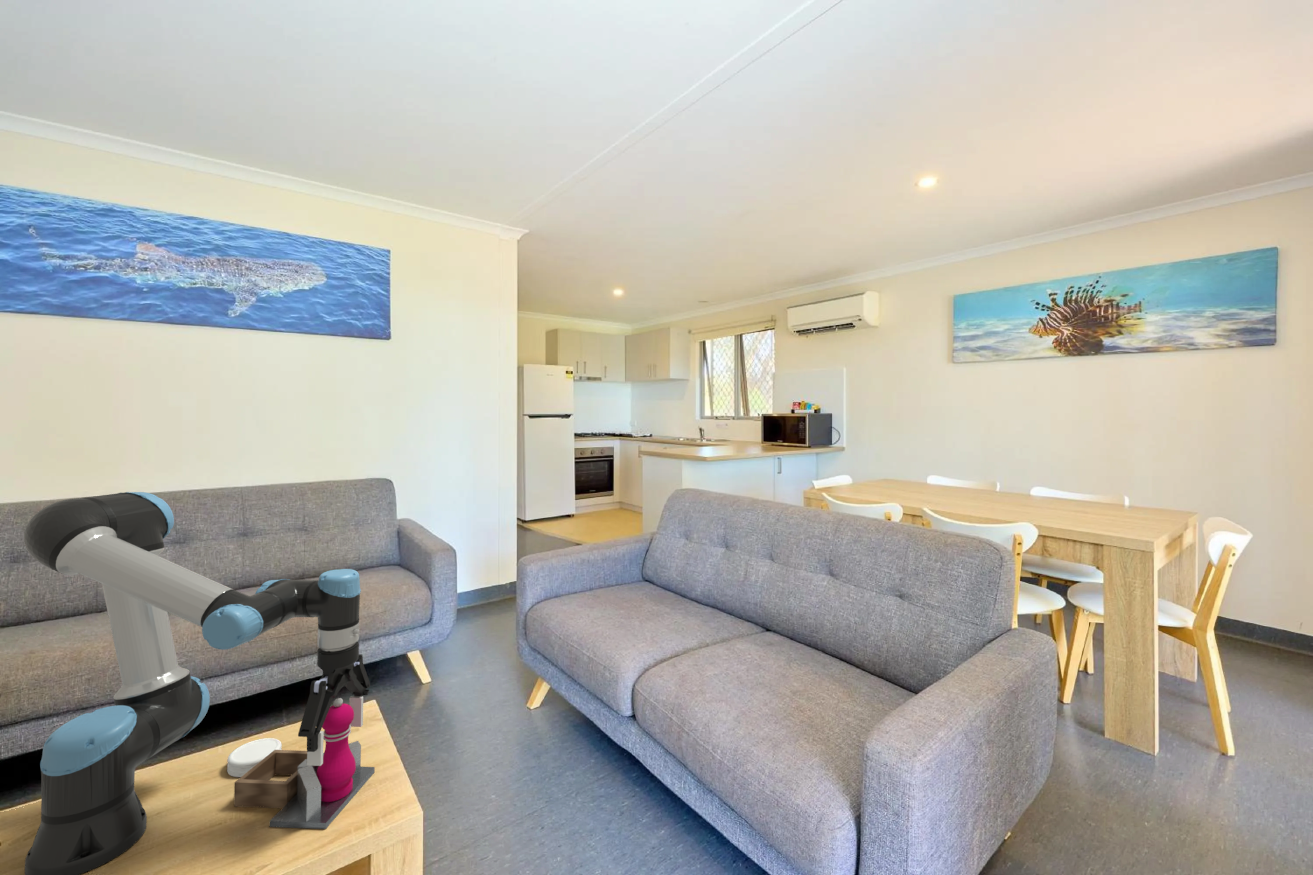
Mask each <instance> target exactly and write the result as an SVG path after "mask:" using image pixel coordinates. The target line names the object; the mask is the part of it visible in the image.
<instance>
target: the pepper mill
mask: <svg viewBox="0 0 1313 875" xmlns="http://www.w3.org/2000/svg"><path fill="white" fill-rule="evenodd" d="M332 703H333V704H332V705H331V706H330V708H329V711H328V713H327V716H326V718H325V721H324V723H323V726H322V730H323V731H324V736H323V741H325V748H324V751H323V753H324V755H323V764H322V765H321V766H318V769H317V773H316V776H317V778H318V780H319V782H320V785H321V801H323V802H333V801H337V800H339V799H342V798H343V797H345V796H346V795H348V794H349V793H350V792H351V790H352V788H353V778H352V776H353V775H354V773H355V770H356V763H355V759H354V756H353V754H352V752H351V750H350V748H349V744H350V743H349V736H350V735H351V733H352V729H351V728H352V727H351V725H350V724H351V722H352V721H353V719H354V711H353V708H352V707H351V706H350V705H349V704H348V703H345V702H344V700H343V698H342V697H338V698H336V699H335V698H334V699H333V701H332Z"/></svg>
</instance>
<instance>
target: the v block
mask: <svg viewBox="0 0 1313 875" xmlns="http://www.w3.org/2000/svg"><path fill="white" fill-rule="evenodd" d="M348 744H349V748H350V750H351V752H352V754H353V756H354V759H355V763H356V770H355V773H354V775H353V776H352V778H353V788H352V790H351V792H350V793H349V794H348V795H346V796H345V797H343V798H342V799H339V800H337V801H333V802H323V801H321V785H320V782H319V780H318V778H317V776H316V773H317V769H318V766H310V765H307V759H305V760H304V761H303V762H302V763H301V764H300V765H299V766H298V771H297V795H295V796H294V797H293V798H292V799H291V800H290V801H289V802H288V803H287V804H286V805H285V806H284V807H283V808H280V810H279V811H278V812H277V813H276V814H274V815H273V817H272V818H271V819H270V820H269V828H286V829H287V828H288V829H290V828H291V829H311V830H312V829H315V830H316V829H317V830H318V829H319V830H326V829H327V828H328V827H329V826H330V825H331V824H332V823H333V821H334V820H335V819H336V818H337V817H338V815H339V814H340V813H341V812H342V811H343V810H344V809H345V807H346V806H348V804H349V802H350V801H351V800H352V799H353V798H354V797H355V796H356V795H357V793H358V792H359V791H360V790H361V789H362V788H363V787H364V785H366V783H367V782H368V781H369V779H370V778H371V777H372V776H373V775H374V774H375V770H376V769H375V768H376V767H375V766H362V764H361V760H362V758H361V757H362V753H361V752H362V745H361V743H360V742H359V740H356V741H353V742H351V743H348ZM323 755H324V752H323Z"/></svg>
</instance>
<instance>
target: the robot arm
mask: <svg viewBox="0 0 1313 875" xmlns="http://www.w3.org/2000/svg"><path fill="white" fill-rule="evenodd" d="M174 518H175V517H174V513H173V511H172V508H171V507H170V505H169V504H168V503H167V502H166V501H165V500H164V499H163V498H161V497H159V496H157V495H156V494H153V493H149V492H144V491H131V492H130V491H126V492H117V493H111V494H110V493H109V494H103V495H97V496H96V495H95V496H88V497H87V496H86V497H81V498H80V497H77V498H75V497H74V498H67V499H64V500H59V501H56V502H53V503H51V504H49V505H47V506H46V507H44V508H42V509H40V510H38V512H37V513H36V514H34V515H33V516H32V517H31V518H30V520H29V521H28V522H27V524H26V527H25V529H24V532H23V533H24V534H23V542H24V544H25V549H26V551H27V552H28V553H29V555H30V556H31V557H32V558H33V559H34V560H36V561H37V562H38V563H39V564H41V565H42V566H44V567H46V568H49V569H50V570H53V571H55V572H57V573H60V574H62V575H64V576H76V575H81V576H83V577H86V578H88V579H90V580H92V581H95V582H97V583H99V584H101V587H102V592H103V596H104V601H105V606H106V611H107V615H108V620H109V626H110V630H111V635H112V640H113V645H114V650H115V655H116V660H117V664H118V665H117V666H118V670H119V674H120V679H121V686H120V688H119V689H118V690H117V691H116V693H115V694H114V695H113V701H114V705H111V706H109V705H108V706H105V707H101V708H97V709H95V710H93V711H91V712H86V713H83V714H80V715H79V716H76V717H74V718H72V719H70V720H69V721H67V722H66V723H64V724H62V725H61V726H59V727H57V728H56V729H55V730H54V731H53V732H52V733H51V734H50V735H49V736H48V737H47V739H46V741H44V744H43V748H42V755H41V760H40V762H39V767H40V776H41V778H40V779H41V784H40V786H41V787H40V788H41V792H40V793H41V796H40V797H41V799H40V800H41V802H40V803H41V804H40V806H41V808H40V810H41V812H40V824H39V826H38V828H37V831H36V833H35V837H34V839H33V843H32V846H31V847H30V849H29V850H28V852H27V854H26V856H25V860H24V875H81V874H84V873H86V872H88V871H89V872H90V871H92V870H94V869H96V868H98V867H100V866H103V865H105V864H107V863H108V862H110V861H112V860H113V859H115V858H117V857H118V856H120V855H122V854H123V853H125V852H127V851H128V850H129V849H130V848H131V847H132V846H134V845H135V844H136V843H137V842H139V841H140V839H141V838H142V837H143V835H144V834H145V832H146V830H147V817H148V816H147V811H146V810H145V809H144V807H143V805H142V803H141V800H140V798H139V797H138V796H139V795H138V794H137V792H136V791H135V774H136V773H135V770H136V768H137V767H138V766H140V765H142V764H143V763H144V762H147V761H148V760H149V759H150V758H152V757H153V756H155V755H157V754H158V753H160V752H161V751H162V750H164V749H166V748H167V747H168V746H170V745H172V744H174V743H175V742H177V741H179V740H180V739H183V738H184V737H185V736H187V735H188V734H189V733H190V732H191V731H192V730H193V729H195V728H196V727H197V726H198V725H200V723H202V721H203V719H204V718H205V716H206V714H207V713H208V710H209V708H210V703H211V702H210V700H211V698H210V692H209V689H208V686H207V684H205V682H201V679H200V678H198V677H196V676H192V675H191V673H190V670H189V669H187V668H184V667H181V666H180V665H179V663H178V662H179V661H178V657H177V652H176V647H175V642H174V637H173V632H172V628H171V627H172V626H171V622H170V617H169V614H171V615H173V616H176V617H178V618H180V619H182V620H184V621H187V622H190V623H192V624H193V625H196V626H199V627H201V633H202V637H203V640H205V641H206V642H207V643H208V645H209V646H210V647H211V648H213V649H216V650H222V651H223V650H230V649H234V648H237V647H239V646H241V645H243V644H247V643H249V642H251V641H253V640H255V638H258V637H259V636H261V635H262V634H264V633H266V632H267V631H269V630H272V629H275V628H276V627H278V626H280V625H281V624H283V623H285V622H287V621H290V619H293V618H294V619H295V618H317V642H316V645H317V647H318V649H317V653H316V654H317V657H316V658H317V660H316V662H317V663H316V665H317V667H318V668H319V669H320V670H321V671H322V676H321V678H320V679H319V680H312V681H311V682H310V688H309V695H308V698H307V702H306V706H305V710H304V712H303V716H302V720H301V723H300V726H299V730H298V734H297V736H298V738H299V737H303V738H306V751H307V765H310V766H321V765H322V764H323V753H324V739H323V736H324V730H323V728H322V726H323V723H324V721H325V718H326V716H327V713H328V711H329V708H330V707H331V706H332V703H333V702H334V700H335V698H336V697H337V696H338V693H339V692H340V691H341V689H342V688H344V687H346V689H347V690H348V691H349V692H350V694H351V696H350V697H349V704H348V705H350V706H351V707H352V708H353V711H354V719H353V721H352V722H351V724H350V725H351V728H352V727H353V728H355V727H356V728H361V727H363V725H364V696H368V695H369V693H370V690H369V688H371V687H370V686H371V682H370V679H369V677H368V673H367V671H366V668H365V665H364V660H363V654H360V643H359V639H360V633H361V632H360V631H361V630H360V601H361V600H360V599H361V598H360V597H361V592H362V589H361V583H360V582H361V581H360V578H361V577H360V573H359V572H358V571H357V570H356V569H352V568H341V569H338V568H337V569H330V570H327V571H324V572H322V573H321V574H320V575H319V577H318V579H316V580H311V579H310V580H309V579H289V578H288V579H287V578H281V579H270V580H267V581H265V582H263V583H262V584H261V585H260V587H258V588H257V589H256V591H255V593H254V594H252V595H247V594H245V593H243V592H241V591H238V590H236V589H233V588H232V587H229V586H226V585H224V584H222V583H220V582H218V581H216V580H213V579H211V578H208V577H206V576H204V575H202V574H200V573H197V572H195V571H193V570H191V569H189V568H186V567H184V566H181V565H180V564H177V563H175V562H173V561H170V560H168V559H167V558H164V557H162V556H161V554H162V553H163V551H164V550H165V544H164V539H165V538H166V537H168V536H169V534H170V533H171V530H172V529H173V527H174V524H175V519H174Z"/></svg>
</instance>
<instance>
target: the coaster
mask: <svg viewBox="0 0 1313 875" xmlns="http://www.w3.org/2000/svg"><path fill="white" fill-rule="evenodd" d="M282 746H283V745H282V742H281V740H279V739H277V738H273V737H267V738H264V737H263V738H260V739H255V740H252V741H249V742H245V743H244V744H242V745H240V746H238V747H237V748H235V749H234V750H232V752H230V753H229V755H228V756H227V769H226V772H227V774H228V775H229V776H231V777H232V778H233V777H234V778H240V777H242V776H243V775H244V774H245V773H247V772H248V771H249V770H250V769H252V768H253V767H254V766H255V765H257V764H258V763H259V762H260V761H261V760H263V759H264V758H265V757H266V756H268V755H269V754H270V753H271V752H273V751H274V750H283V749H282Z"/></svg>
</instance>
